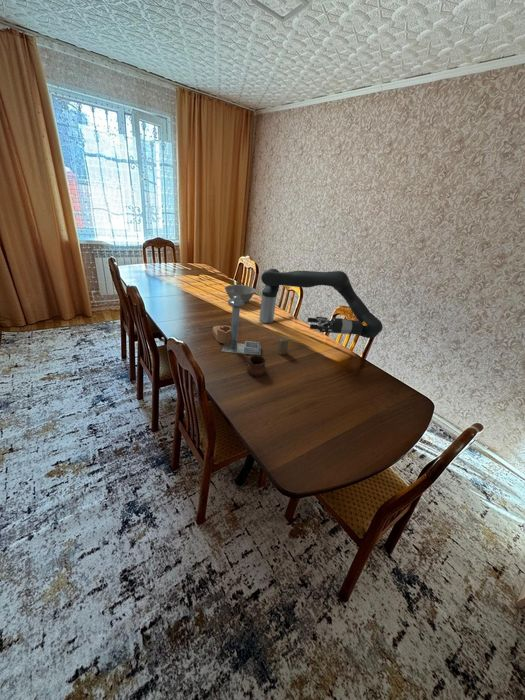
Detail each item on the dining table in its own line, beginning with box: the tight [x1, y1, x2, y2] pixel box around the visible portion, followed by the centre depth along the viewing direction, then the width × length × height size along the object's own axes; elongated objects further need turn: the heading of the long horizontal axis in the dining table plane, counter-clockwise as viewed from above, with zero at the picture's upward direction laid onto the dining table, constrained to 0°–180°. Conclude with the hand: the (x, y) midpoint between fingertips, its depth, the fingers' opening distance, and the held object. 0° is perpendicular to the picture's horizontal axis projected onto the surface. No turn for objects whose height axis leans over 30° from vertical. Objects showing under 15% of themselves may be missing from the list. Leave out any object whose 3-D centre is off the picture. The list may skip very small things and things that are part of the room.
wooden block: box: [276, 337, 289, 356], centre depth 149 cm, size 4×4×8 cm
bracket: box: [212, 325, 231, 344], centre depth 158 cm, size 18×8×7 cm, turn 23°
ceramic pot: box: [238, 355, 267, 378], centre depth 131 cm, size 18×18×7 cm
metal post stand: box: [221, 296, 262, 356], centre depth 143 cm, size 10×20×28 cm, turn 90°
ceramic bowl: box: [224, 284, 256, 304], centre depth 211 cm, size 22×23×10 cm
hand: (308, 323), depth 142 cm, fingers open, 8 cm apart
